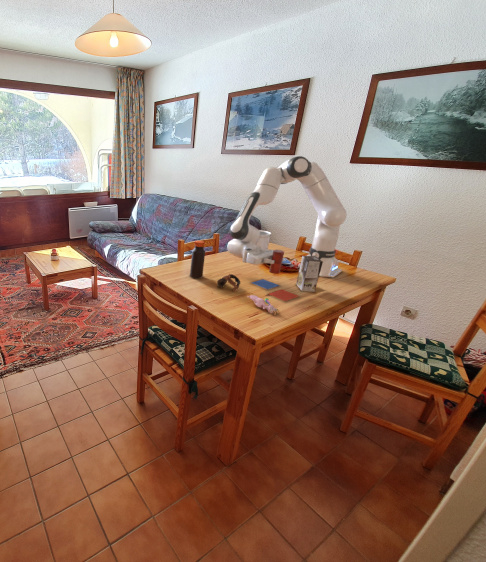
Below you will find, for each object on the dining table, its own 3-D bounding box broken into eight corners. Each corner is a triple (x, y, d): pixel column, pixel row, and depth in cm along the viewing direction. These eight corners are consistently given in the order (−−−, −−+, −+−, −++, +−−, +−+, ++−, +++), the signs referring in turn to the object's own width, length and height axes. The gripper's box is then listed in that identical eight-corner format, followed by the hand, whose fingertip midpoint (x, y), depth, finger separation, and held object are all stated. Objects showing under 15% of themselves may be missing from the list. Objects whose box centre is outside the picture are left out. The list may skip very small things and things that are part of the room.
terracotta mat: (281, 290, 155) (281, 289, 155) (299, 296, 148) (299, 295, 148) (267, 294, 150) (267, 293, 150) (284, 302, 143) (285, 301, 143)
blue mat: (262, 279, 168) (263, 279, 168) (279, 286, 160) (279, 285, 160) (250, 283, 163) (250, 282, 163) (267, 290, 155) (267, 289, 155)
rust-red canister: (273, 269, 157) (277, 249, 153) (281, 272, 153) (286, 251, 149) (267, 271, 155) (271, 250, 150) (275, 274, 151) (280, 253, 147)
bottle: (199, 279, 168) (203, 244, 160) (187, 276, 172) (191, 242, 164) (204, 276, 173) (208, 241, 165) (193, 273, 177) (196, 239, 169)
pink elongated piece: (279, 315, 134) (251, 297, 145) (284, 304, 131) (255, 286, 142) (271, 319, 131) (242, 300, 142) (275, 307, 128) (246, 289, 139)
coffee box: (315, 292, 153) (323, 261, 147) (301, 291, 154) (308, 260, 148) (308, 285, 161) (316, 255, 155) (295, 284, 162) (302, 255, 156)
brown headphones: (225, 283, 164) (235, 272, 159) (234, 296, 159) (245, 286, 154) (209, 282, 158) (219, 270, 153) (219, 296, 152) (229, 285, 147)
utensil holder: (238, 254, 209) (242, 229, 202) (260, 255, 208) (265, 229, 202) (246, 261, 195) (250, 234, 188) (269, 262, 195) (275, 235, 188)
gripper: (266, 256, 168) (290, 263, 157) (240, 262, 158) (263, 270, 147) (268, 245, 165) (292, 251, 154) (242, 250, 156) (266, 258, 145)
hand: (278, 261), depth 151 cm, fingers closed on rust-red canister, 5 cm apart
